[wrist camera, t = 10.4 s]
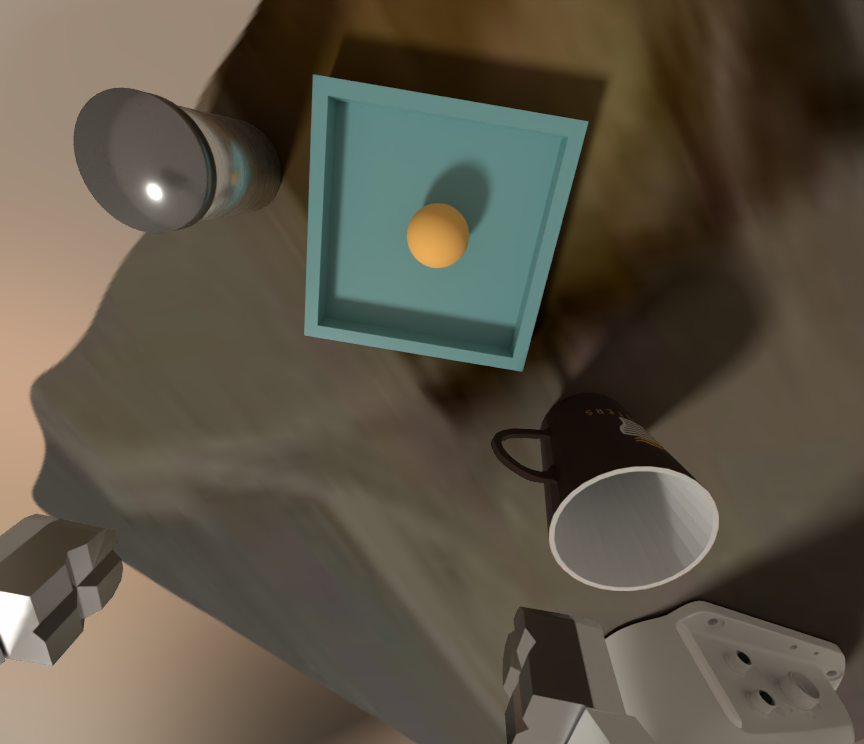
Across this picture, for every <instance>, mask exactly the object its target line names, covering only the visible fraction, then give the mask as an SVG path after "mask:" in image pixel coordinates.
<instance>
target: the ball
mask: <svg viewBox="0 0 864 744" xmlns="http://www.w3.org/2000/svg"><path fill="white" fill-rule="evenodd" d="M407 242H408V246H409V249H410V251H411V253H412V254H413V256H414V257H415V258H416V259H417V260H418V261H419V262H420V263H422V264H424V265H425V266H428V267H432V268H444V267H448V266H450V265H452V264H454V263H455V262H457V261H458V260H459V259H460V258H461V257H462V256H463V254H464V253H465V251H466V249H467V246H468V242H469V229H468V225H467V223H466V220H465V219H464V217H463V216H462V214H461V213H460V212H459V211H458V210H457V209H455V208H454V207H452V206H450V205H447V204H443V203H433V204H429V205H426V206H424V207H422V208H421V209H420V210H418V211H417V212H416V213H415V214H414V216H413V217H412V219H411V221H410V223H409V225H408V229H407Z"/></svg>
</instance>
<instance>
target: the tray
mask: <svg viewBox="0 0 864 744" xmlns="http://www.w3.org/2000/svg"><path fill="white" fill-rule="evenodd" d="M588 122H589V121H583V120H577V119H571V118H565V117H560V116H554V115H548V114H542V113H536V112H530V111H524V110H519V109H513V108H507V107H501V106H495V105H489V104H483V103H478V102H472V101H466V100H460V99H454V98H448V97H443V96H437V95H431V94H425V93H419V92H413V91H407V90H402V89H396V88H390V87H384V86H378V85H372V84H366V83H361V82H355V81H349V80H343V79H337V78H331V77H326V76H320V75H314V74H313V90H312V120H311V150H310V180H309V210H308V240H307V270H306V300H305V330H304V335H306V336H312V337H318V338H324V339H330V340H336V341H342V342H348V343H354V344H360V345H366V346H372V347H378V348H384V349H390V350H396V351H402V352H408V353H414V354H420V355H426V356H432V357H438V358H444V359H450V360H456V361H462V362H468V363H474V364H480V365H486V366H492V367H498V368H504V369H510V370H516V371H523V367H524V363H525V360H526V356H527V352H528V348H529V344H530V341H531V337H532V333H533V329H534V326H535V322H536V318H537V314H538V311H539V307H540V303H541V299H542V295H543V292H544V288H545V284H546V280H547V277H548V273H549V269H550V265H551V262H552V258H553V254H554V250H555V246H556V243H557V239H558V235H559V231H560V228H561V224H562V220H563V216H564V212H565V209H566V205H567V201H568V197H569V194H570V190H571V186H572V182H573V179H574V175H575V171H576V167H577V163H578V160H579V156H580V152H581V148H582V145H583V141H584V137H585V133H586V130H587V126H588ZM433 203H443V204H447V205H450V206H452V207H454V208H455V209H457V210H458V211H459V212H460V213H461V214H462V216H463V217H464V219H465V220H466V223H467V225H468V229H469V242H468V246H467V249H466V251H465V253H464V254H463V256H462V257H461V258H460V259H459V260H458V261H457V262H455V263H454V264H452V265H450V266H448V267H444V268H432V267H428V266H425V265H424V264H422V263H420V262H419V261H418V260H417V259H416V258H415V257H414V256H413V254H412V253H411V251H410V249H409V246H408V242H407V229H408V225H409V223H410V221H411V219H412V217H413V216H414V214H415V213H416V212H417V211H418V210H420V209H421V208H422V207H424V206H426V205H429V204H433Z"/></svg>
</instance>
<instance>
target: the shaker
mask: <svg viewBox="0 0 864 744" xmlns="http://www.w3.org/2000/svg"><path fill="white" fill-rule="evenodd" d="M74 152H75V157H76V162H77V165H78V168H79V171H80V174H81V176H82V178H83V180H84V182H85V184H86V186H87V188H88V189H89V191H90V192H91V194H92V195H93V197H94V198H95V199H96V200H97V202H98V203H99V204H100V205H101V206H102V207H103V208H104V209H105V210H106V211H107V212H108V213H109V214H111V215H112V216H113V217H114V218H116V219H117V220H119V221H120V222H122V223H124V224H125V225H128V226H129V227H131V228H134V229H137V230H140V231H144V232H149V233H165V232H170V231H175V230H180V229H184V228H187V227H190V226H192V225H194V224H195V223H197V222H198V221H202V220H208V219H213V218H218V217H224V216H229V215H235V214H240V213H245V212H251V211H256V210H259V209H261V208H263V207H265V206H267V205H268V204H269V203H270V202H271V201H272V200H273V199H274V197H275V196H276V194H277V192H278V189H279V187H280V182H281V165H280V160H279V157H278V154H277V152H276V150H275V148H274V146H273V144H272V143H271V141H270V140H269V138H268V137H267V136H266V135H265V134H264V133H263V132H262V131H261V130H260V129H258V128H257V127H255V126H254V125H252V124H250V123H248V122H245V121H242V120H238V119H233V118H229V117H225V116H221V115H216V114H212V113H208V112H204V111H199V110H195V109H191V108H186V107H182V106H177V105H176V104H174V103H173V102H171V101H169V100H167V99H165V98H163V97H160V96H158V95H154V94H151V93H146V92H143V91H139V90H135V89H130V88H113V89H108V90H105V91H102V92H100V93H98V94H96V95H95V96H94V97H92V98H91V99H90V100H89V101H88V102H87V103H86V104H85V106H84V107H83V108H82V110H81V111H80V114H79V116H78V118H77V122H76V125H75V131H74Z"/></svg>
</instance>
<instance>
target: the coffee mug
mask: <svg viewBox="0 0 864 744" xmlns="http://www.w3.org/2000/svg"><path fill="white" fill-rule="evenodd" d="M509 438H535V439H540V442H541V453H542V465H543V472H540V471H535V470H532V469H529V468H527V467H524V466H523V465H521V464H520V463H518V462H517V461H515V460H514V459H513V458H512V457H511V456H509V454H508V453H507V452H506V451H505V450H504V448H503V446H502V443H501V441H504V440H506V439H509ZM491 447H492V449H493V451H494V454H495V455H496V457H497V458H498V460H499V461H500V462H502V463H503V464H504V465H505V466H506V467H507V468H509V469H510V470H511V471H513V472H515V473H516V474H518V475H519V476H521V477H523V478H525V479H527V480H529V481H533V482H540V483H544V489H545V501H546V513H547V524H548V536H549V543H550V548H551V552H552V554H553V556H554V558H555V560H556V562H557V563H558V564H559V565H560V566H561V567H562V569H563V570H564V571H565V572H567V573H568V574H569V575H571V576H572V577H573V578H575V579H577V580H579V581H581V582H583V583H585V584H587V585H590V586H593V587H597V588H600V589H606V590H613V591H633V590H641V589H648V588H651V587H655V586H659V585H662V584H665V583H667V582H669V581H672V580H674V579H676V578H678V577H680V576H681V575H683V574H685V573H687V572H688V571H690V570H691V569H692V568H693V567H694V566H696V565H697V564H698V563H699V562H700V561H701V560H702V559H703V558H704V557H705V555H706V554H707V553H708V552H709V550H710V549H711V547H712V545H713V543H714V541H715V539H716V536H717V532H718V528H719V514H718V511H717V507H716V504H715V502H714V500H713V498H712V497H711V495H710V494H709V492H708V491H707V490H706V489H705V488H704V487H703V486H702V485H701V484H700V483H699V482H698V481H697V480H696V479H695V478H694V477H693V476H692V475H691V474H690V473H689V472H688V471H687V470H686V469H685V468H684V467H683V466H682V465H681V464H680V463H678V462H677V461H676V460H675V459H674V458H673V457H672V456H671V455H670V454H669V453H668V452H667V451H666V450H665V449H664V448H663V447H662V446H661V445H660V444H659V443H658V442H657V441H656V440H655V439H654V438H653V437H652V436H651V435H650V434H649V433H648V432H647V431H646V430H645V429H644V428H643V427H642V426H641V425H640V424H639V423H638V422H637V421H636V420H635V419H634V418H633V417H631V416H630V415H629V414H628V413H627V412H626V411H625V410H624V409H623V408H622V407H621V406H620V405H619V404H618V403H617V402H616V401H614V400H612V399H611V398H609V397H606V396H603V395H599V394H593V393H589V394H579V395H574V396H571V397H569V398H566V399H564V400H562V401H561V402H559V403H557V404H556V405H555V406H554V407H553V408H551V410H550V411H549V412H548V413H547V415H546V416H545V418H544V420H543V422H542V425H541V429H540V430H535V429H508V430H503V431H500V432H498V433H496V435H495V436H494V438H493V439H492V441H491Z"/></svg>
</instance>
